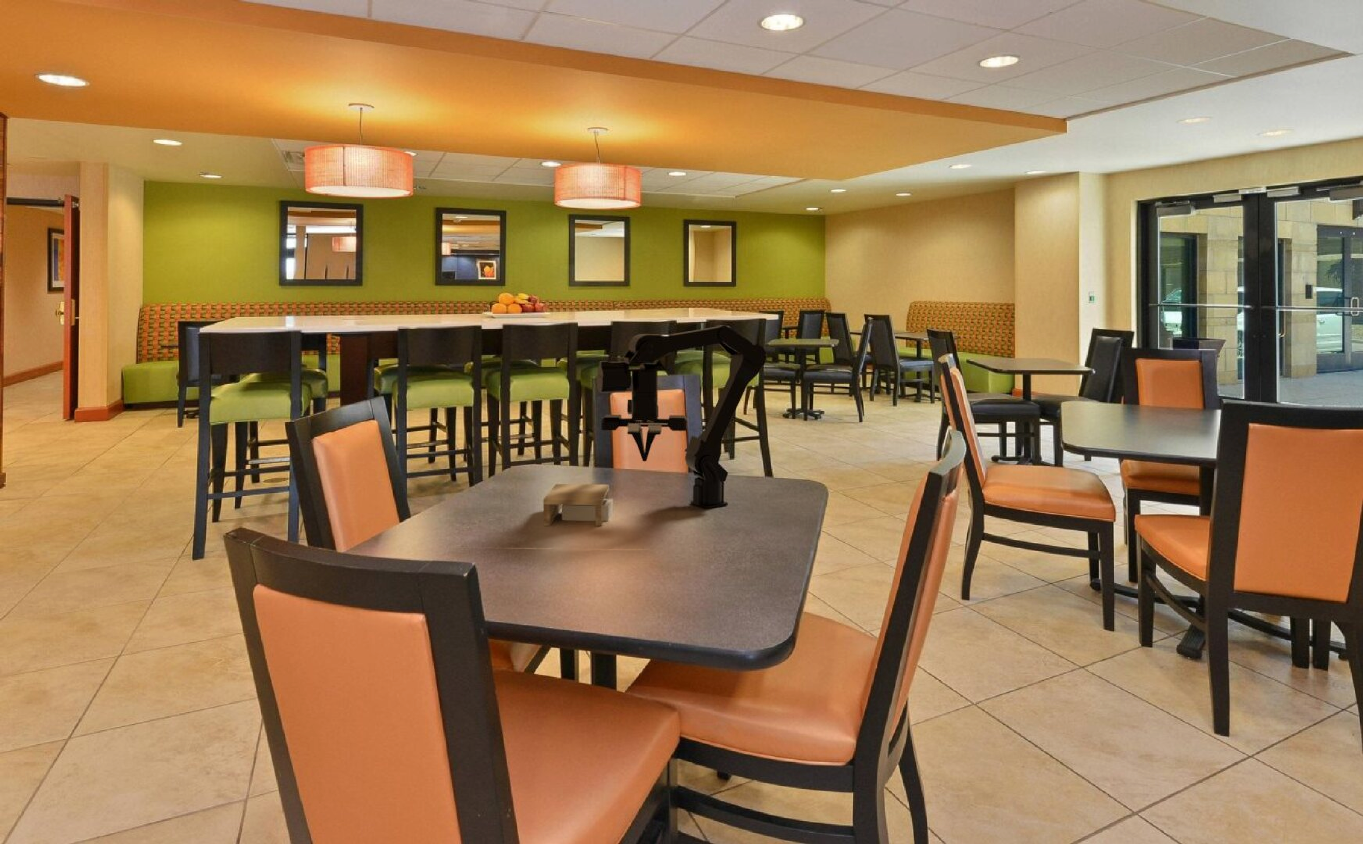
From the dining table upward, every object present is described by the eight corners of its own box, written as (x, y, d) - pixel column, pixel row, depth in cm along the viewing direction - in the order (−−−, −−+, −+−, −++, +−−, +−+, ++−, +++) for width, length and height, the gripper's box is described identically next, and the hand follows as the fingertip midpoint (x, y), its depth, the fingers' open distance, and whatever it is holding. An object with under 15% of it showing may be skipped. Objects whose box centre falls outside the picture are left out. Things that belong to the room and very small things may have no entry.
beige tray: (613, 514, 171) (612, 499, 170) (608, 522, 164) (608, 506, 164) (568, 513, 171) (568, 498, 171) (562, 521, 165) (561, 505, 164)
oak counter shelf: (609, 508, 175) (609, 484, 174) (601, 526, 160) (601, 500, 159) (556, 507, 175) (555, 484, 174) (543, 525, 160) (543, 499, 160)
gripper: (687, 388, 178) (686, 454, 181) (606, 387, 179) (607, 454, 181) (686, 393, 167) (686, 464, 170) (600, 392, 168) (601, 463, 170)
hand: (644, 460), depth 173 cm, fingers closed
